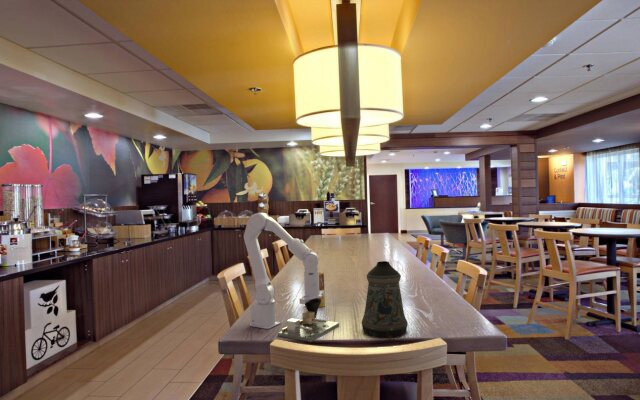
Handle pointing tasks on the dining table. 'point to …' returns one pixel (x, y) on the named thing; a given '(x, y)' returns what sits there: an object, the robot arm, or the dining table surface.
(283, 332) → the bolt plate
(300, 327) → the fixed leg
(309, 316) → the slider
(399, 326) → the beer stein
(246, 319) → the dining table surface
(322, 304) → the candy box
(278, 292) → the dining table surface
